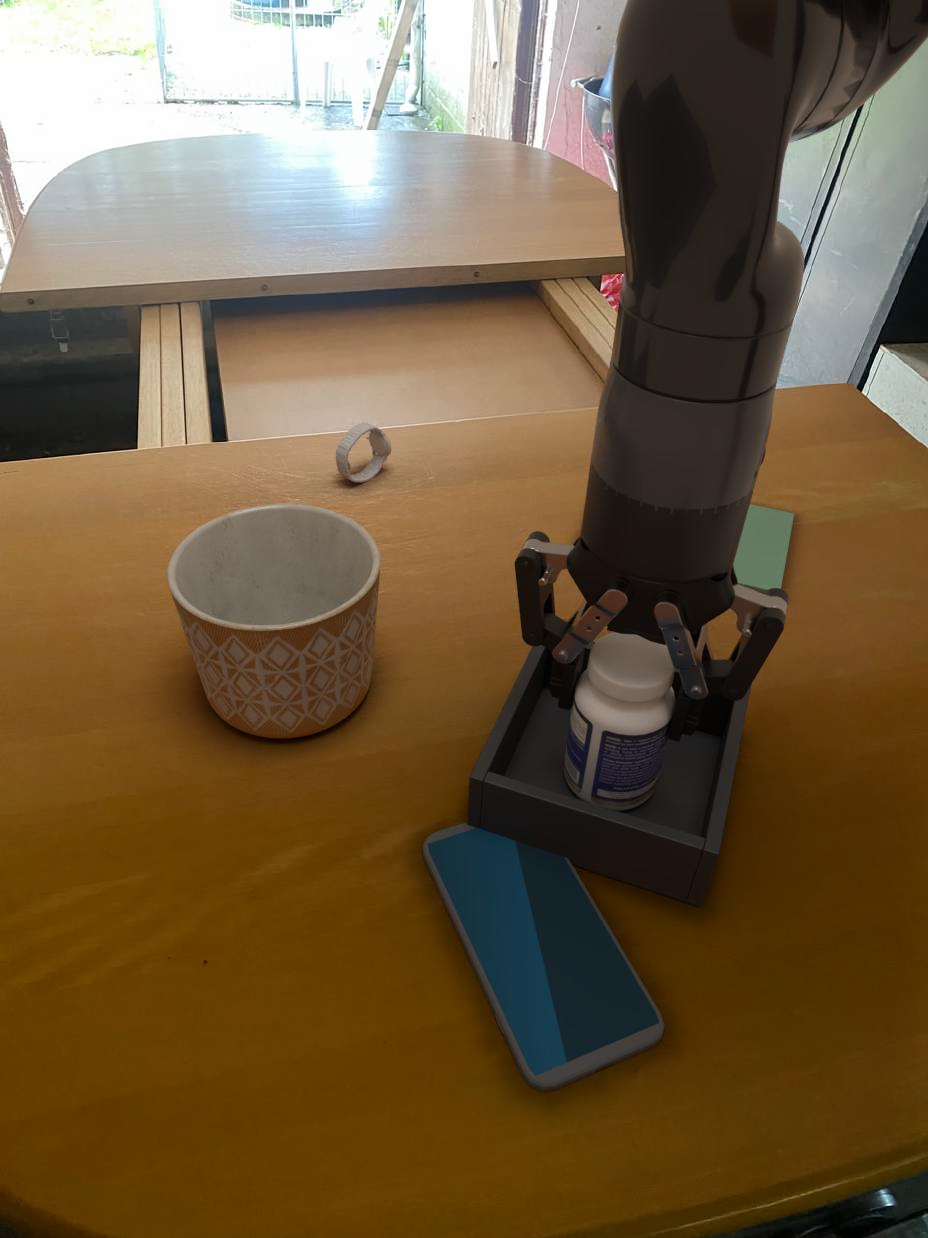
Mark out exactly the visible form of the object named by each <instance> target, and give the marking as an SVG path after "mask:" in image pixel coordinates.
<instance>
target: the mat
mask: <svg viewBox="0 0 928 1238" xmlns="http://www.w3.org/2000/svg"><path fill="white" fill-rule="evenodd" d="M794 519H795V513H793V512H788V511H784V510H779V509H774V508H770V507H766V506H761V505H757V504H752V503H750V505H749V509H748V512H747V516H746V520H745V523H744V527H743V531H742V534H741V538H740V541H739V545H738V549H737V552H736V556H735V560H734V563H733V566H734V571H735V574H736V576H737V580H738V584H739V585H742V586H744V587H747V588H749V589H752V590H755V591H757V592H760V593H763V594H764V593H765V592H766V591H767V590H769V589H771V588H779V589H782V587H783V581H784V576H785V575H784V574H785V568H786V564H787V558H788V553H789V552H788V551H789V547H790V541H791V535H792V530H793V523H794Z"/></svg>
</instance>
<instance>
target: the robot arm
mask: <svg viewBox="0 0 928 1238" xmlns="http://www.w3.org/2000/svg"><path fill="white" fill-rule="evenodd" d="M927 39H928V0H627V1H626V3H625V7H624V10H623V12H622V15H621V19H620V22H619V25H618V29H617V33H616V38H615V42H614V47H613V50H612V51H613V52H612V60H611V67H610V83H609V84H610V85H609V102H610V103H609V105H610V107H609V108H610V126H611V137H612V138H611V139H612V149H613V159H614V160H613V161H614V172H615V184H616V194H617V209H618V215H619V223H620V230H621V237H622V244H623V250H624V262H625V263H624V271H623V276H622V280H621V287H620V292H619V299H618V307H617V314H616V321H615V328H614V336H613V342H612V347H611V348H612V349H611V355H610V360H609V366H608V369H607V373H606V377H605V380H604V383H603V387H602V390H601V394H600V397H599V403H598V408H597V413H596V419H595V427H594V434H593V435H594V436H593V442H592V448H591V454H590V455H591V456H590V462H589V463H590V464H589V470H588V477H587V478H588V479H587V486H586V492H585V499H584V506H583V515H582V522H581V529H580V535H579V536H578V537H577V539H575V541H574V542H573V544H567V543H559V542H558V543H557V542H551V540H550V538H549V536H548V535H547V534H546V533H545V532H542V531H539V530H535V531H532V532H531V533H530V534H529V535H528V537H527V539H526V540H525V542H524V544H523V546H522V548H521V549H520V551H519V553H518V555H517V556H516V558H515V560H514V572H515V582H516V591H517V601H518V611H519V612H518V613H519V619H520V620H519V621H520V631H521V638H522V640H523V642H524V643H525V644H526V645H528V646H529V647H532V646H533V647H537V646H540V645H542V646H544V647H545V648H547V649H548V650H549V651H550V652H551V653H552V655H553V665H552V673H551V681H550V688H549V690H550V693H551V696H552V697H554V698H558V699H559V702H558V708H561V709H565V710H568V711H570V710H571V707H572V704H573V698H574V692H575V687H576V684H577V681H578V679H579V677H580V676H581V671H582V665H583V658H584V652H585V646H586V645H590V644H591V643H592V641H593V642H594V641H595V639H596V638H597V637H598V636H599V635H600V634H601V633H602V632H603V631H604V629H605V628H606V631H608V632H611V633H615V632H616V633H620V634H633V635H638V636H640V637H642V638H644V639H646V640H649V641H651V642H654V643H658V644H662V645H666V646H667V649H668V652H669V655H670V658H671V661H672V664H673V667H674V668H677V669H678V671H679V674H680V678H681V681H682V684H681V688H680V691H679V695H678V699H677V703H676V706H675V710H674V714H673V718H672V722H671V726H670V730H669V734H668V738H667V739H669V740H673V741H676V742H680V738H681V734H685V735H688V736H691V735H692V734H693V733H694V732H695V731H696V729H697V726H698V722H699V718H700V715H701V711H702V708H703V704H704V701H705V699H706V698H707V697H708V696H710V695H712V694H722V695H723V696H724V697H725V698H727V699H729V700H732V701H737V700H741V699H742V698H743V697H744V696H745V694H746V693H747V691H748V689H749V688H750V686H751V687H752V685H751V684H753V682H754V681H755V679H756V678H757V676H758V674H759V673H760V671H761V669H762V667H763V666H764V664H765V662H766V660H767V659H768V658H769V655H770V654H771V652H772V651H773V649H774V648H775V646H776V644H777V642H778V640H779V639H780V637H781V635H782V634H783V632H784V630H785V624H786V618H787V612H788V605H789V601H790V599H789V597H790V596H789V594H788V593H787V592H786V591H785V590H784V589H783V588H781V589H779V588H771V589H769V590H767V591H766V592H765V593H762V592H758V591H755V590H752V589H749V588H747V587H744V586H742V585H739V584H738V580H737V576H736V574H735V571H734V566H733V563H734V560H735V556H736V552H737V549H738V545H739V541H740V538H741V534H742V531H743V527H744V523H745V520H746V516H747V512H748V509H749V505H750V504H751V502H752V498H753V494H754V489H755V486H756V483H757V480H758V477H759V471H760V469H761V466H762V465H763V463H764V460H765V456H766V449H767V447H766V446H767V443H768V439H769V435H770V430H771V427H772V420H773V419H772V418H773V411H774V410H773V409H774V400H775V395H776V388H777V384H778V377H779V376H780V372H781V368H782V364H783V362H784V357H785V353H786V350H787V346H788V342H789V339H790V336H791V332H792V328H793V324H794V320H795V316H796V313H797V309H798V305H799V301H800V297H801V292H802V286H803V280H804V269H805V254H804V251H803V248H802V244H801V242H800V240H799V239H798V237H797V236H796V234H795V233H794V232H793V230H792V229H790V228H789V227H787V226H786V225H785V224H784V223H783V222H782V221H779V220H778V214H779V205H780V194H781V193H780V192H781V183H782V176H783V170H784V164H785V159H786V152H787V150H788V147H789V144H791V143H795V142H797V141H801V140H804V139H807V138H811V137H813V136H816V135H818V134H821V133H822V132H825V131H827V130H828V129H831V128H832V127H834V126H835V125H837V124H839V123H840V122H842V121H844V120H845V119H846V118H848V117H849V116H851V114H853V113H854V112H855V111H857V110H858V109H859V108H860V107H861V106H863V105H864V104H865V103H866V102H867V101H868V100H870V99H871V98H872V97H873V96H874V95H875V94H876V93H877V92H878V91H879V90H881V88H883V87H884V86H885V85H886V84H887V83H888V82H889V81H890V80H891V79H892V78H893V77H894V76H896V74H897V73H898V72H899V71H900V70H901V69H902V68H903V67H904V65H905V64H906V63H908V61H909V60H910V59H911V58H912V57H913V55H915V54H916V52H917V51H919V49H920V48H921V47H922V46H923V44H925V42H926V40H927ZM562 570H567V573H568V574H569V575H570V577H571V579H572V581H573V582H574V584H575V585H576V587H577V589H578V590H579V591H580V593H581V595H582V598H584V599H583V600H582V602H581V604H580V605H579V606H578V608H577V609H576V610H575V611H574V613H572V614H571V616H570V617H569V618H568V620H565V619H563V618H561V617H560V616H557V615H556V602H555V590H554V588H555V587H554V584H555V583H556V582H557V580H558V578H559V576H560V574H561V571H562ZM728 610H732V611H733V612H734V613H735V614H736V617H737V619H736V623H735V626H736V629H737V630H738V632H739V633H741V635H740V636H739V638H738V641H737V642H736V644H735V646H734V648H733V649H732V651H731V653H730V654H729V657H728V659H724V658H723V659H715V658H714V655H713V651H712V647H711V645H710V641H709V630H708V629H709V628H708V623H710V622H711V621H713V620H714V619H716V618H717V617H719V616H721V615H722V614H724V613H726V612H727V611H728Z"/></svg>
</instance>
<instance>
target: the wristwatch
mask: <svg viewBox="0 0 928 1238" xmlns="http://www.w3.org/2000/svg"><path fill="white" fill-rule="evenodd" d="M368 432H369V433H368ZM367 433H368V436H366V437H365V439H366V440H368V443H369V445H370V448H371V450H372V452H371V455H372V457H371V459H370V461H369V462H368V464H367V465H366V467H365V468H364V469H363V470H361V471H360V472H357V473H355V474H351V473H350V471H352V464H351V462H350V461H349V454H350V451H351V450H352V449H353V446H355V444H356V443H357V442H358V441H359V440H360V438H361V437H362V436H364V435H365V434H367ZM391 453H392V443H391V441H390V439H389V437H388V436H387V434H386V433H385V432H384V431H383V430H381V429H380V428H379V427H377V426H375V425H372V424H371V423H368V422H360V423H358V424H356V425H354V426H352V427H351V428H349V429H348V431H347V432H346V433H345V435H344V436H343V437H342V438H341V439H340V441H339V442H338V443H337V446H336V449H335V463H336V468H337V472H338V473H339V475H340V476H341V477H343V478H346V479H347V480H349V481H351V482H354V483H364V482H369V481H370V480H372V479H374V478H375V477H376V476H377V475H378V474H379V472H380V470H381V469H382V467H383V466H384V463H385V462H386V461H387V460H388V457H389V456H390V455H391Z"/></svg>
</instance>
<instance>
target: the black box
mask: <svg viewBox="0 0 928 1238" xmlns="http://www.w3.org/2000/svg"><path fill="white" fill-rule="evenodd" d="M595 642H596V641H594V640H593V641H592V643H591V644H590V645H586V646H585V652H584V658H583V665H582V671H581V675H582V673H583V672H584V671H585V670H586V669H587V666H588V661H589V655H590V651H591V648H592V646H593V645H594V643H595ZM552 665H553V655H552V653H551V652H550V651H549V650H548V649H547V648H545V647H544V646H542V645H540V646H537V647H533V646H531V648H530V650H529V652H528V655H527V657H526V659H525V661H524V663H523V665H522V667H521V668H520V671H519V673H518V675H517V678H516V680H515V682H514V684H513V686H512V688H511V690H510V692H509V694H508V696H507V698H506V700H505V701H504V704H503V706H502V708H501V711H500V712H499V714H498V717H497V719H496V721H495V723H494V726H493V727H492V729H491V732H490V734H489V735H488V738H487V739H486V742H485V744H484V745H483V748H482V749H481V752H480V753H479V756H478V758H477V761H476V763H475V765H474V767H473V769H472V770H471V773H470V775H469V780H468V800H467V815H466V816H467V818H466V822H467V825H469V826H472V827H475V828H480V829H482V830H485V831H488V832H491V833H494V834H497V835H500V836H503V837H506V838H509V839H512V840H515V841H518V842H521V843H524V844H527V845H530V846H533V847H536V848H539V849H542V850H545V851H548V852H551V853H554V854H558V855H561V856H564V857H566V858H568V859H569V860H570V862H571V863H572V865H573V867H576V868H579V869H583V870H586V871H589V872H591V873H595V874H598V875H601V876H604V877H607V878H610V879H613V880H616V881H619V882H622V883H625V884H629V885H631V886H634V887H637V888H641V889H643V890H647V891H650V892H653V893H656V894H659V895H662V896H665V897H667V898H671V899H673V900H677V901H680V902H683V903H686V904H689V905H692V906H695V907H698V908H701V907H702V904H703V901H704V898H705V896H706V893H707V889H708V887H709V884H710V881H711V878H712V875H713V872H714V869H715V867H716V863H717V861H718V859H719V856H720V852H721V851H720V850H721V847H722V846H721V845H722V840H723V837H724V836H723V835H724V830H725V825H726V820H727V814H728V810H729V809H728V808H729V805H730V804H729V803H730V798H731V793H732V790H733V782H734V779H735V773H736V767H737V762H738V758H739V752H740V748H741V742H742V736H743V732H744V731H743V730H744V726H745V720H746V717H747V716H746V715H747V711H748V705H749V700H750V695H751V690H752V684H753V683H752V684H751V686H750V688H749V689H748V691H747V693H746V694H745V696H744V697H743V698H742V699H741V700H737V701H732V700H729V699H727V698H725V697H724V696H723V695H722V694H712V695H710V696H708V697H707V698H706V699H705V701H704V704H703V708H702V711H701V715H700V718H699V722H698V726H697V729H696V731H695V732H694V733H693V734H692V735H691V736H688V735H685V734H681V738H680V742H676V741H673V740H669V739H668V740H667V744H666V748H665V753H664V756H663V760H662V765H661V769H660V773H659V777H658V781H657V784H656V787H655V790H654V792H653V793H652V795H651V796H650V797H649V798H648V799H647V800H646V801H645V802H644V803H642V804H641V805H639V806H637V807H635V808H632V809H628V810H622V811H615V810H612V809H608V808H605V807H602V806H599V805H595V804H592V803H589V802H586V801H583V800H581V799H580V798H579V797H578V796H577V795H576V794H575V793H574V792H573V791H572V790H571V788H570V787H569V785H568V783H567V781H566V778H565V775H564V760H565V753H566V746H567V739H568V732H569V725H570V718H571V711H572V707H571V710H570V711H568V710H565V709H561V708H558V702H559V699H558V698H554V697H552V696H551V693H550V690H549V688H550V681H551V673H552ZM681 684H682V681H681V678H680V674H679V671H678V669H677V668H675V672H674V678H673V683H672V689H673V691H674V694H675V701H676V703H677V699H678V695H679V691H680V688H681ZM676 703H675V706H676Z"/></svg>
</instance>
